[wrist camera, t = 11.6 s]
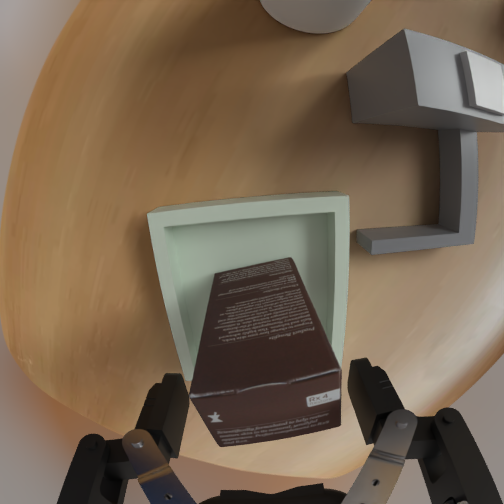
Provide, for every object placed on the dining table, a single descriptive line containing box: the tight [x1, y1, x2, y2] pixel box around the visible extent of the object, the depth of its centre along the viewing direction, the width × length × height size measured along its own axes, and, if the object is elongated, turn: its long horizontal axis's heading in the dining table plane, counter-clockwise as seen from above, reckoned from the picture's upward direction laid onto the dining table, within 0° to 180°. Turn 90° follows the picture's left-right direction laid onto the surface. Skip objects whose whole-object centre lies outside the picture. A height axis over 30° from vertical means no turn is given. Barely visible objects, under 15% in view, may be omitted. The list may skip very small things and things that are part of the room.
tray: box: [147, 191, 350, 381], centre depth 21 cm, size 13×14×3 cm
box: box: [189, 257, 342, 447], centre depth 16 cm, size 6×4×12 cm
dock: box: [346, 29, 504, 255], centre depth 15 cm, size 10×13×10 cm
